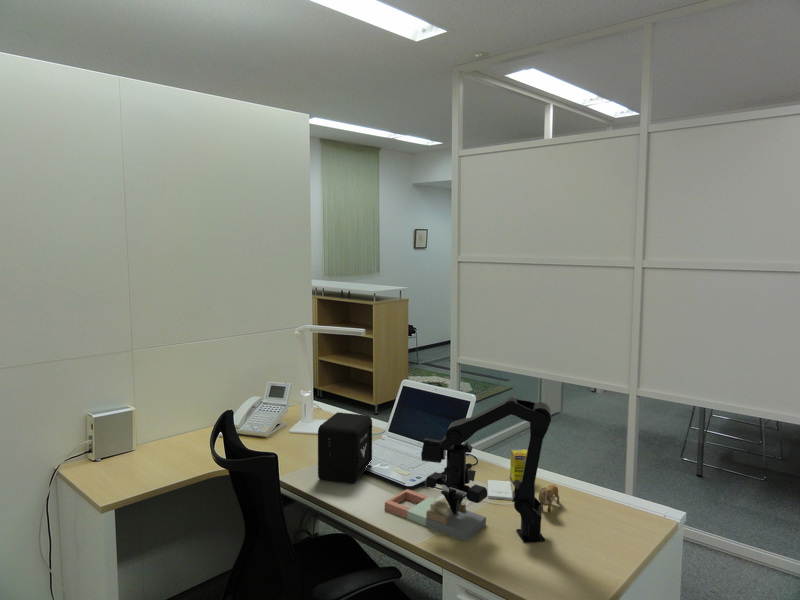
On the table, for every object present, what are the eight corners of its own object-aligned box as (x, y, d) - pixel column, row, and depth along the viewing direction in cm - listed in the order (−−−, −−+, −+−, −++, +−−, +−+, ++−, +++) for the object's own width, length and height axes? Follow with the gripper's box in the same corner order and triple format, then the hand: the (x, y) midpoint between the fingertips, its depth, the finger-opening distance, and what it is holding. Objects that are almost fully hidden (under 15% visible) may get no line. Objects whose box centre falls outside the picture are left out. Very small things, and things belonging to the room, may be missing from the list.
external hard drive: (510, 485, 189) (512, 502, 177) (487, 483, 190) (487, 499, 178) (510, 481, 189) (512, 497, 177) (487, 479, 190) (488, 495, 178)
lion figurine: (553, 520, 164) (554, 492, 163) (535, 516, 167) (537, 488, 166) (561, 500, 177) (562, 474, 177) (544, 496, 180) (546, 471, 179)
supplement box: (513, 484, 189) (514, 455, 188) (509, 477, 195) (510, 448, 194) (530, 484, 189) (531, 455, 188) (525, 477, 195) (526, 449, 194)
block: (457, 511, 164) (457, 502, 163) (446, 519, 159) (446, 509, 159) (441, 505, 167) (441, 496, 167) (430, 513, 163) (430, 503, 162)
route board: (485, 524, 161) (486, 510, 160) (465, 541, 151) (466, 526, 151) (407, 496, 179) (407, 483, 179) (384, 509, 170) (384, 496, 169)
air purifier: (355, 486, 186) (355, 431, 184) (317, 481, 190) (317, 427, 188) (374, 464, 205) (374, 414, 203) (339, 459, 209) (339, 410, 207)
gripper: (496, 463, 160) (495, 513, 161) (444, 449, 171) (443, 495, 172) (478, 475, 151) (477, 528, 152) (424, 459, 162) (424, 508, 163)
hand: (455, 513), depth 160 cm, fingers closed
